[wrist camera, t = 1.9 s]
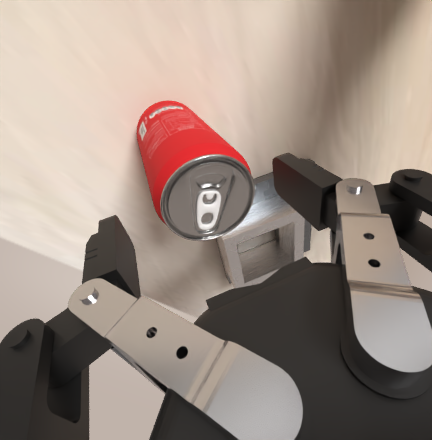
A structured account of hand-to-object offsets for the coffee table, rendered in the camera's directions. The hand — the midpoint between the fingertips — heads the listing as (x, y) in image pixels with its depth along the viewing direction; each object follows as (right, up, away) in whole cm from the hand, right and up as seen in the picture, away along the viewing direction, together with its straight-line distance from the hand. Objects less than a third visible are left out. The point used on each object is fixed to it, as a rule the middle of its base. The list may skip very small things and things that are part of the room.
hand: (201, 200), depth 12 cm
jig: (+7, -2, +19) cm, 20 cm away
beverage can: (-3, +7, +9) cm, 12 cm away
